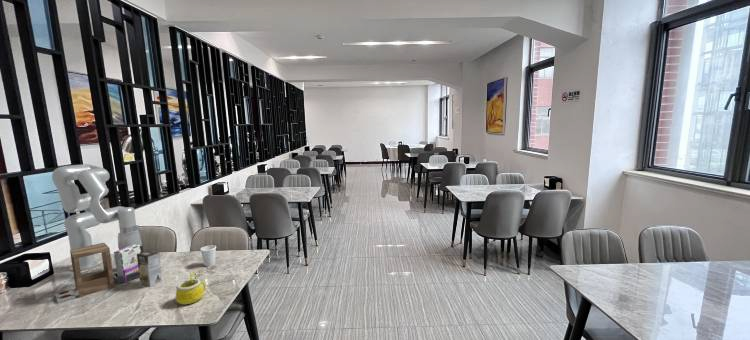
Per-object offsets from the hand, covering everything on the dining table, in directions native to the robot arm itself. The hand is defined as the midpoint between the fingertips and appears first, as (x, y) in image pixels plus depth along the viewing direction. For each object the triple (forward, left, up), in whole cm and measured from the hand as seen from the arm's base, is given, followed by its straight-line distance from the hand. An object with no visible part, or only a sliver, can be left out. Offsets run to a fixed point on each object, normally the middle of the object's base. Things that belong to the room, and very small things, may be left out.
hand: (132, 260), depth 184 cm
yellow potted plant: (+65, +8, -5) cm, 66 cm away
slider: (+8, -3, -5) cm, 9 cm away
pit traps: (+13, -30, -5) cm, 33 cm away
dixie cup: (+29, +30, -5) cm, 42 cm away
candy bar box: (+13, -4, -5) cm, 14 cm away
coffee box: (+29, +1, -5) cm, 29 cm away
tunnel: (+13, -19, -5) cm, 23 cm away
